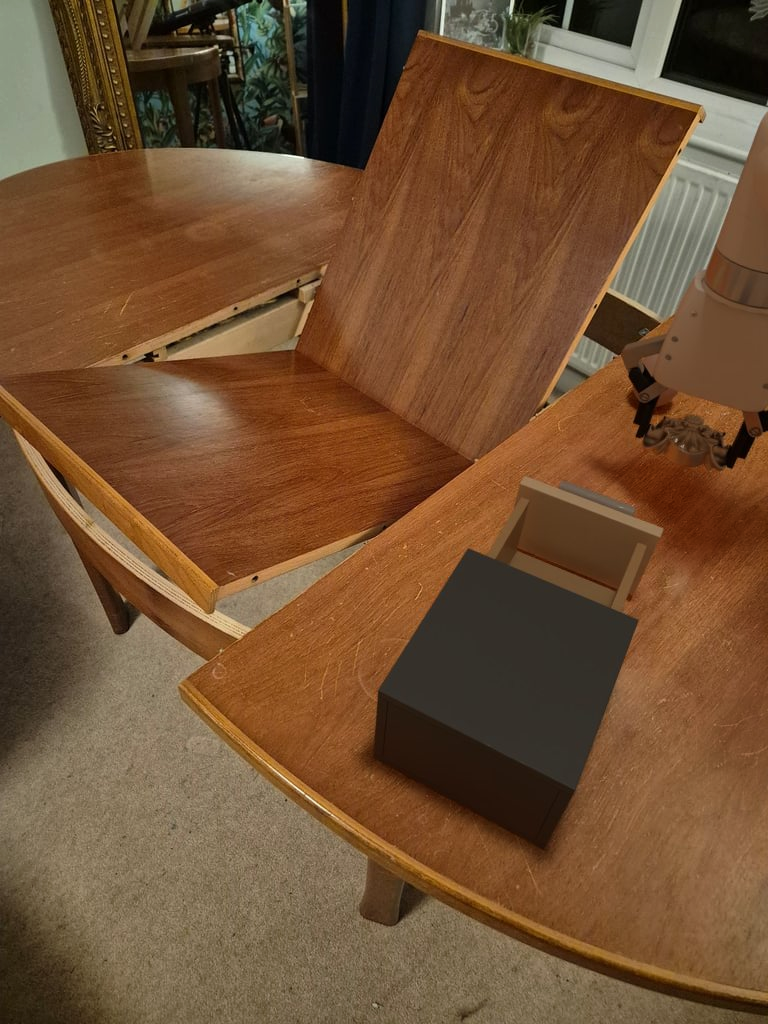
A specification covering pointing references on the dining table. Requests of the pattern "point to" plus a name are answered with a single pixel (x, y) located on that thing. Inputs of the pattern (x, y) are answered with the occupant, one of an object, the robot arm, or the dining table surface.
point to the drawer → (577, 540)
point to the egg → (650, 365)
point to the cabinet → (502, 694)
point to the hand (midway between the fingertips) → (685, 444)
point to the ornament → (687, 442)
